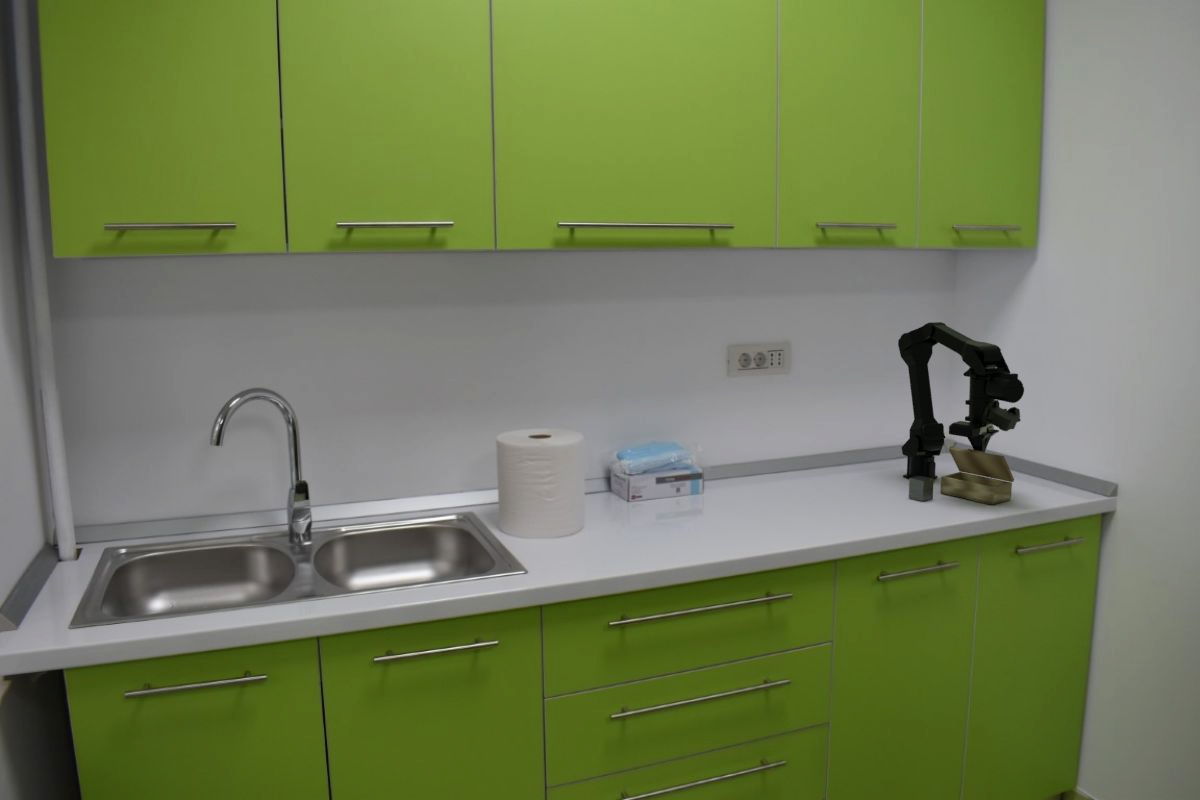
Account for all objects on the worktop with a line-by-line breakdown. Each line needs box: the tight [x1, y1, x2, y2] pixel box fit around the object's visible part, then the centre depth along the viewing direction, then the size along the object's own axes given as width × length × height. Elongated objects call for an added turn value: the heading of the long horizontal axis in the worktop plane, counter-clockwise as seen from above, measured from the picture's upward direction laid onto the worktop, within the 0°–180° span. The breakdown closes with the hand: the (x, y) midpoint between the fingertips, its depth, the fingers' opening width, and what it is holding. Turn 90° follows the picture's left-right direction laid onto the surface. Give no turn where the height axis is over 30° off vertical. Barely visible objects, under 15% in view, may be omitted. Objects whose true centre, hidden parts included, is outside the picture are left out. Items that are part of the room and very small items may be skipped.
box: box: [939, 471, 1013, 506], centre depth 215 cm, size 14×8×4 cm, turn 35°
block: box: [908, 476, 935, 502], centre depth 214 cm, size 4×4×5 cm
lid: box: [948, 446, 1015, 483], centre depth 216 cm, size 14×9×1 cm
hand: (980, 458), depth 215 cm, fingers closed, pressing on lid
